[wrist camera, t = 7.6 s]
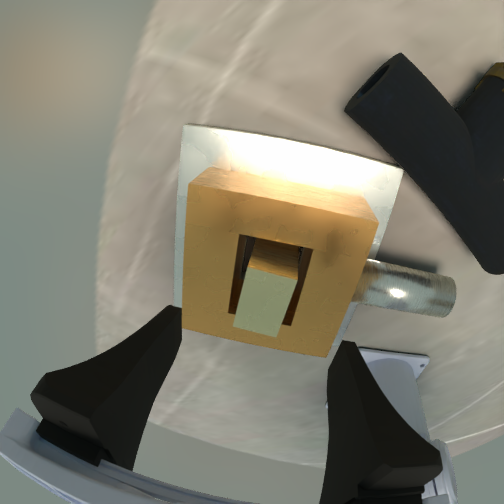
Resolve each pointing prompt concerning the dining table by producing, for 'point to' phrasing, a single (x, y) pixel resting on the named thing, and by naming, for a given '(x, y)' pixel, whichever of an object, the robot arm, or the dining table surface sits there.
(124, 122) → the dining table surface
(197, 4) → the dining table surface
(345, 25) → the dining table surface
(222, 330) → the wooden slotted box
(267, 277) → the pale wooden brick
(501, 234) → the pipe connector
